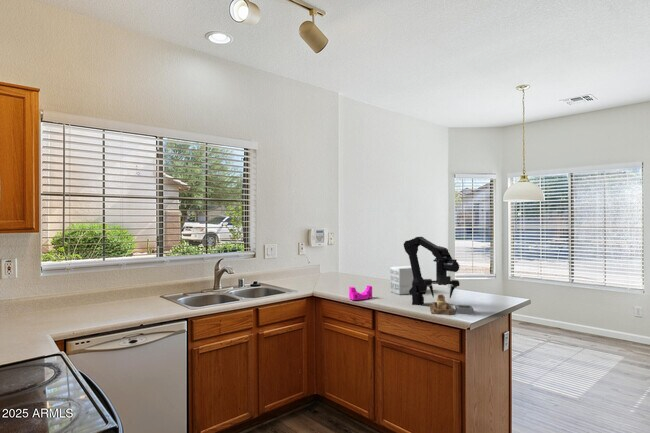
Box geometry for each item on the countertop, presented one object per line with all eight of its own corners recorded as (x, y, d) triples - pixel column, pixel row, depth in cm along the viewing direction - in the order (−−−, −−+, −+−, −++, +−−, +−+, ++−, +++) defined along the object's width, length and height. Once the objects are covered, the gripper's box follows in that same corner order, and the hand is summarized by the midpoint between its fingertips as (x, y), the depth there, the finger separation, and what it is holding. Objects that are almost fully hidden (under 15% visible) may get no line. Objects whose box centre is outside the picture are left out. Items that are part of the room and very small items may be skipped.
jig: (431, 313, 212) (431, 309, 212) (429, 305, 231) (429, 301, 231) (454, 314, 209) (454, 310, 209) (450, 306, 229) (450, 302, 229)
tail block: (437, 304, 235) (437, 296, 235) (437, 303, 238) (437, 295, 239) (444, 305, 234) (444, 296, 234) (444, 303, 238) (444, 295, 238)
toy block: (353, 300, 249) (353, 288, 249) (349, 298, 255) (349, 286, 255) (374, 298, 255) (374, 286, 255) (369, 296, 260) (369, 285, 260)
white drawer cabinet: (410, 290, 284) (410, 265, 284) (421, 293, 271) (420, 267, 271) (389, 291, 278) (389, 266, 278) (399, 294, 265) (399, 268, 265)
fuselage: (438, 311, 215) (438, 298, 215) (437, 306, 226) (437, 294, 226) (445, 311, 214) (445, 298, 214) (444, 306, 225) (444, 294, 225)
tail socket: (457, 313, 212) (457, 307, 212) (455, 309, 221) (455, 304, 221) (473, 314, 211) (473, 308, 211) (471, 310, 219) (471, 305, 219)
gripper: (424, 271, 214) (425, 299, 214) (460, 272, 210) (460, 301, 210) (424, 269, 225) (424, 296, 225) (458, 269, 221) (458, 297, 221)
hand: (441, 297), depth 220 cm, fingers open, 9 cm apart
